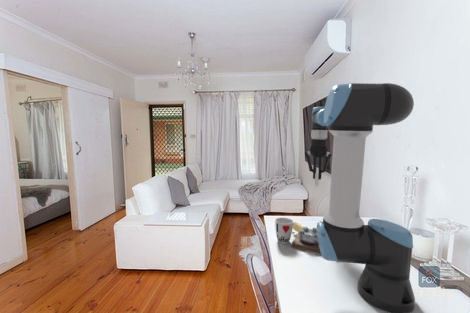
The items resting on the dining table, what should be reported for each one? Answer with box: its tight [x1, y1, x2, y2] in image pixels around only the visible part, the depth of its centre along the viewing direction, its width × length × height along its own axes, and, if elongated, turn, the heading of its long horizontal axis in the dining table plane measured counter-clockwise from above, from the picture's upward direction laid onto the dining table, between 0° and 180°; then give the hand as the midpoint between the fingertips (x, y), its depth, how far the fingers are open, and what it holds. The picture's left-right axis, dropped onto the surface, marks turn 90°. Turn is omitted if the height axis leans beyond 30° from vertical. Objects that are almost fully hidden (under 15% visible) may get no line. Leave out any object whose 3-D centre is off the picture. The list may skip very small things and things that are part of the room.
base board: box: [291, 232, 321, 255], centre depth 110 cm, size 14×14×2 cm
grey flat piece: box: [292, 221, 319, 246], centre depth 114 cm, size 20×11×4 cm, turn 20°
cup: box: [274, 217, 294, 245], centre depth 112 cm, size 8×8×10 cm
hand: (316, 185), depth 121 cm, fingers closed
